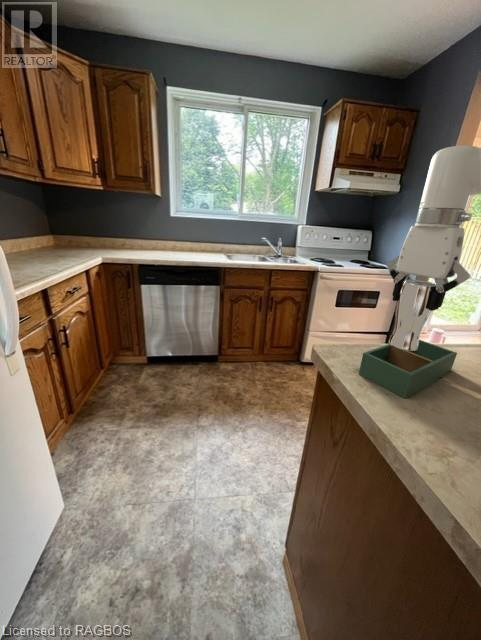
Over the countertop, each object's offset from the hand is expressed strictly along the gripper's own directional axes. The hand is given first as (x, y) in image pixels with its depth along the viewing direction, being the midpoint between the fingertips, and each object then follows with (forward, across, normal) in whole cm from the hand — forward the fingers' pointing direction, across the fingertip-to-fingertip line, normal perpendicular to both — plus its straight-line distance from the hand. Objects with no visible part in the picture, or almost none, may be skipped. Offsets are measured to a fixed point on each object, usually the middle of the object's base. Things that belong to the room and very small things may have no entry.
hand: (414, 304), depth 60 cm
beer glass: (+10, 0, 0) cm, 10 cm away
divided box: (+19, 0, -5) cm, 20 cm away
